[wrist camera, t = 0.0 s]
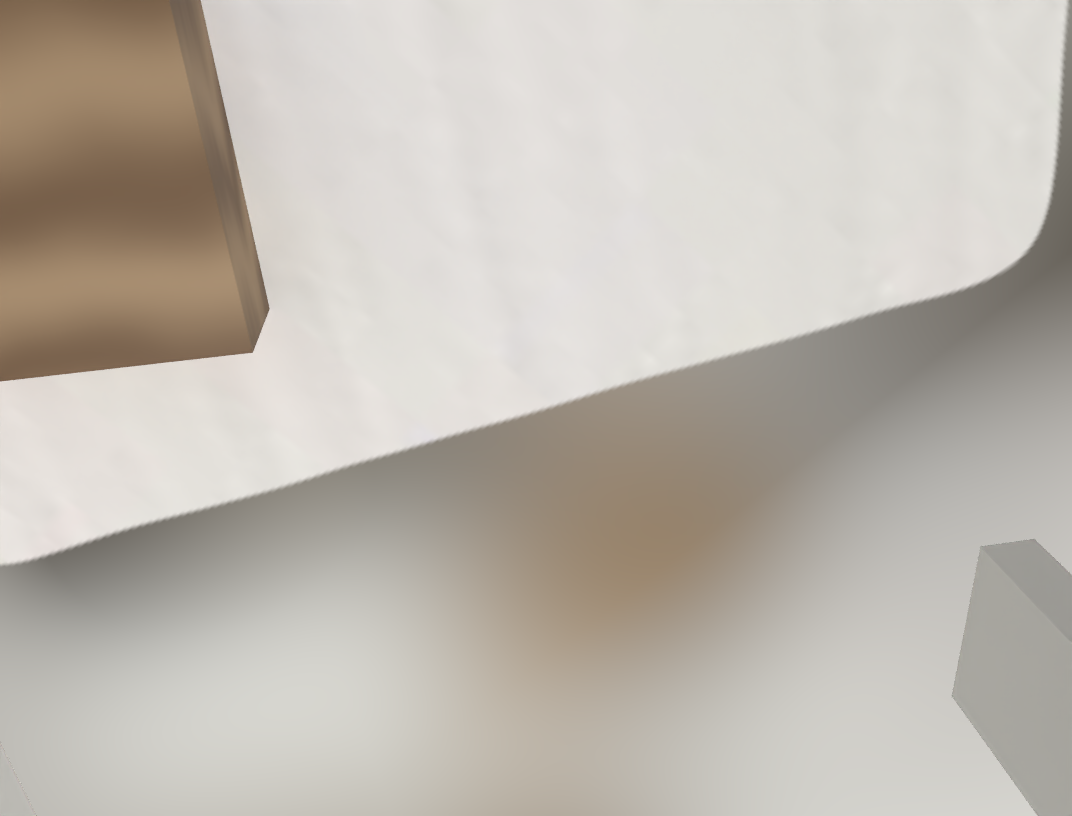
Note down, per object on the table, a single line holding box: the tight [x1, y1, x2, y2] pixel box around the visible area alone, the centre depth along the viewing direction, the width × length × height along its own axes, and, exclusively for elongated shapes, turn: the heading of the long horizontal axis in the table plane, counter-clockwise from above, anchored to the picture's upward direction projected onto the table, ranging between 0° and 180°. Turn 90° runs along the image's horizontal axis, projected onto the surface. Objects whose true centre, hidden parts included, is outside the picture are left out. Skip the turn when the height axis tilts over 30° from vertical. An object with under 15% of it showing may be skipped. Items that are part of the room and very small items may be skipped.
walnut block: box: [0, 0, 269, 381], centre depth 33 cm, size 13×15×5 cm
